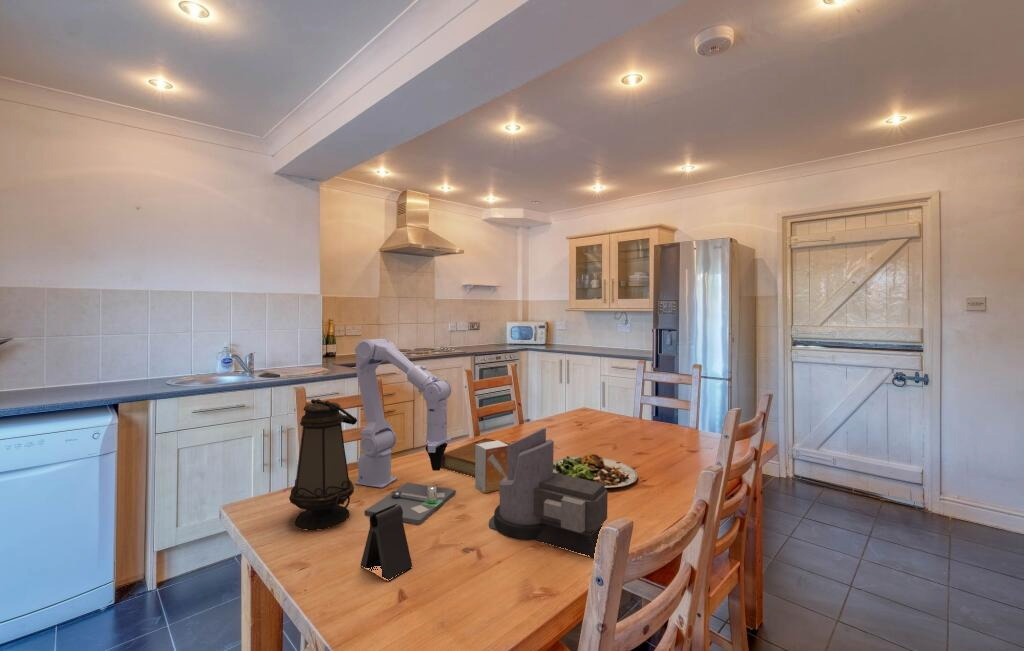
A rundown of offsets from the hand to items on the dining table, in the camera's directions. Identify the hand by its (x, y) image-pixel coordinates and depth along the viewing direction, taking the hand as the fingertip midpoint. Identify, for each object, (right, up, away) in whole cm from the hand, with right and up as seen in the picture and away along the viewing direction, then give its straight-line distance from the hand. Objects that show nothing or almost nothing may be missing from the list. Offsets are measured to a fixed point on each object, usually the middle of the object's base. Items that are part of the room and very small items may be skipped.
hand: (436, 469), depth 127 cm
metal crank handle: (-5, -5, -7) cm, 10 cm away
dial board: (-5, -7, -7) cm, 11 cm away
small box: (+16, -7, +5) cm, 18 cm away
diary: (+12, -7, +25) cm, 29 cm away
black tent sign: (-4, -8, -37) cm, 38 cm away
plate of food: (+48, -7, +15) cm, 51 cm away
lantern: (-26, -7, -16) cm, 31 cm away
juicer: (+30, -8, -21) cm, 37 cm away
